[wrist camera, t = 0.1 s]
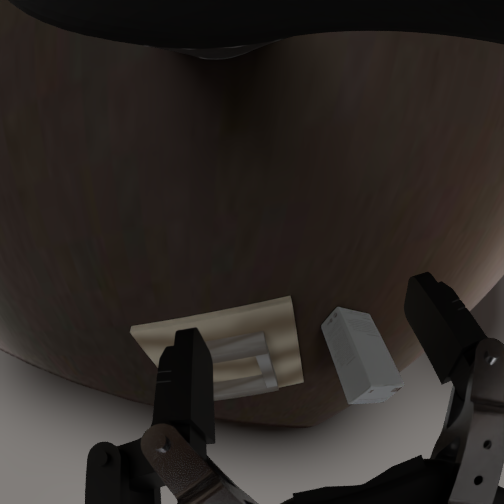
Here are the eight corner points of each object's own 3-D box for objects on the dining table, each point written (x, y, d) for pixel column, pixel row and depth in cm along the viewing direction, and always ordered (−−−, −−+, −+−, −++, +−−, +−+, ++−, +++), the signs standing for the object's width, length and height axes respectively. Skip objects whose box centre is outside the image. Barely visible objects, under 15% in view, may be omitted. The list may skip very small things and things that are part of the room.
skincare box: (319, 326, 38) (343, 407, 29) (337, 303, 36) (370, 386, 26) (353, 332, 40) (381, 405, 31) (372, 311, 38) (406, 386, 28)
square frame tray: (131, 326, 35) (126, 348, 32) (290, 295, 34) (296, 318, 31) (186, 396, 47) (186, 413, 44) (302, 377, 46) (306, 394, 43)
